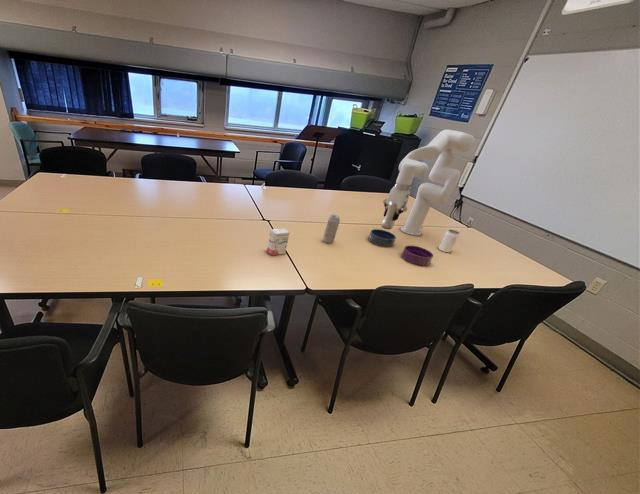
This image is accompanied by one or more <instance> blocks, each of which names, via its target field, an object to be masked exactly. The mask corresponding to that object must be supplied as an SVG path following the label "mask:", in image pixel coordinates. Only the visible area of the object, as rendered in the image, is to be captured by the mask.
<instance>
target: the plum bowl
mask: <svg viewBox="0 0 640 494" xmlns="http://www.w3.org/2000/svg"><path fill="white" fill-rule="evenodd" d="M401 257H402V258H403V260H405V261H407V262H409V263H411V264H414V265H418V266H429V265H430V263H431V262H432V259H433V258H434V253H432V252H431V251H430V250H428V249H426V248H423V247H422V246H421V247H420V246H417V245H405V246H404V247H403V250H402V253H401Z"/></svg>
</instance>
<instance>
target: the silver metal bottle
mask: <svg viewBox="0 0 640 494" xmlns="http://www.w3.org/2000/svg"><path fill="white" fill-rule="evenodd" d="M396 207H397V204H396V202H395V201H390V203H389V206H388V210H387V213H386V216H385V217H384V218H383V220H382V221H381V223H380V224H381V228H382V229H383V230H392V229H394V227H395V222H396V220H395V221H393V218H394V215H395V214H396V210H397V208H396Z"/></svg>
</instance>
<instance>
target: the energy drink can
mask: <svg viewBox="0 0 640 494" xmlns="http://www.w3.org/2000/svg"><path fill="white" fill-rule="evenodd" d="M340 218H341V217H340V215H337V214H331V215H330V216H329V217H328V219H327V223H326V227H325V230H324V234H323V238H322V240H323V242H324V243H326V244H333V242H334V241H335V238H336V235H337V231H338V228H339V225H340V221H341V220H340Z"/></svg>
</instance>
